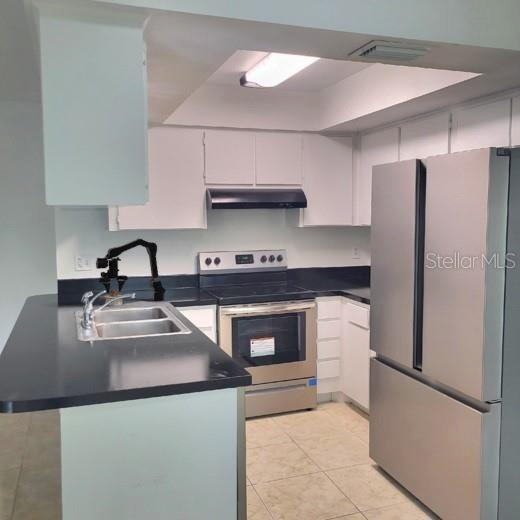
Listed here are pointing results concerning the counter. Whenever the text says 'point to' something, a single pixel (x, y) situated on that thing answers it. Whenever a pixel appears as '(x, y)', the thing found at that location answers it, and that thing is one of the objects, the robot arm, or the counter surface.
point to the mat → (140, 304)
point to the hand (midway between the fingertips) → (113, 292)
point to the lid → (113, 295)
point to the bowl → (115, 302)
